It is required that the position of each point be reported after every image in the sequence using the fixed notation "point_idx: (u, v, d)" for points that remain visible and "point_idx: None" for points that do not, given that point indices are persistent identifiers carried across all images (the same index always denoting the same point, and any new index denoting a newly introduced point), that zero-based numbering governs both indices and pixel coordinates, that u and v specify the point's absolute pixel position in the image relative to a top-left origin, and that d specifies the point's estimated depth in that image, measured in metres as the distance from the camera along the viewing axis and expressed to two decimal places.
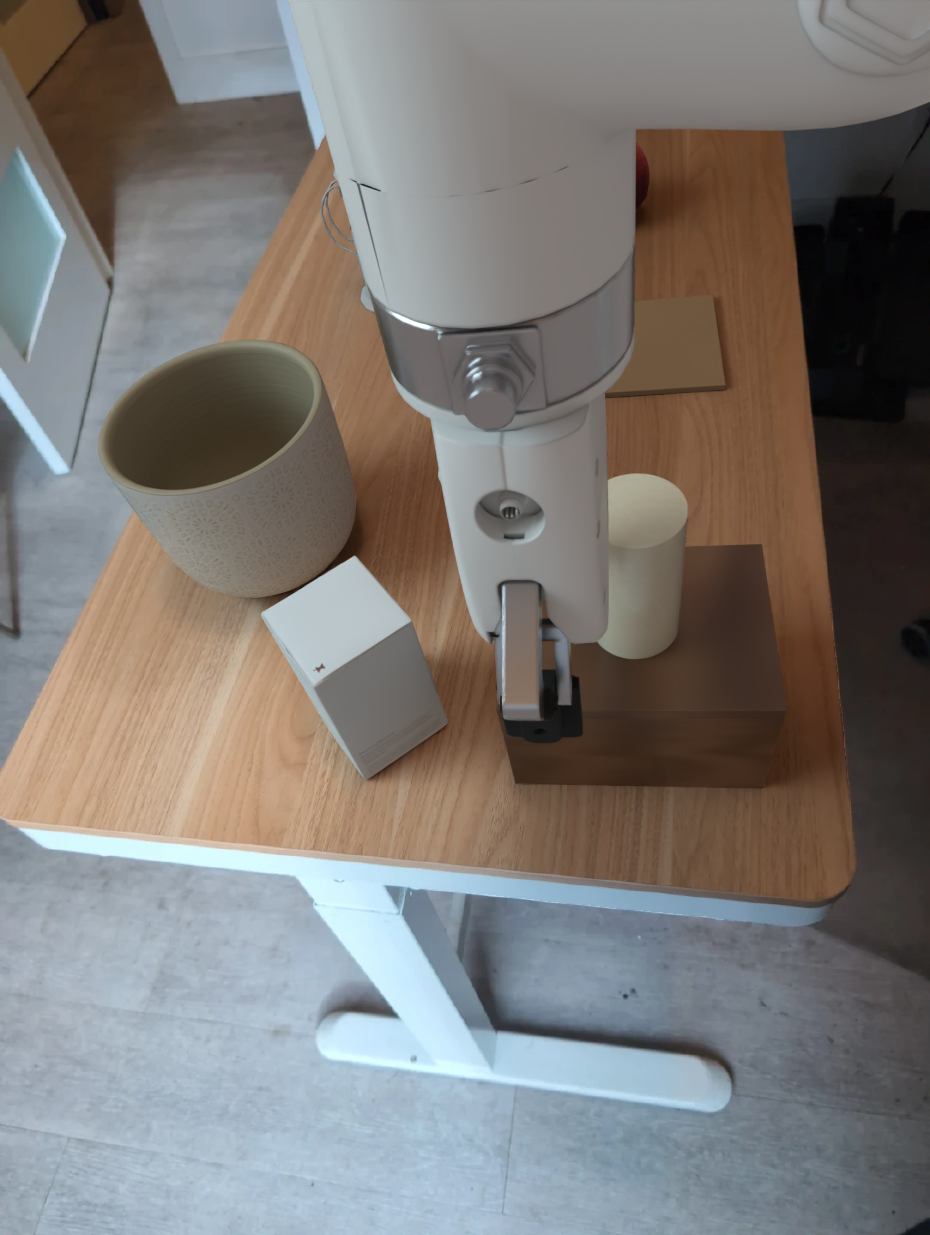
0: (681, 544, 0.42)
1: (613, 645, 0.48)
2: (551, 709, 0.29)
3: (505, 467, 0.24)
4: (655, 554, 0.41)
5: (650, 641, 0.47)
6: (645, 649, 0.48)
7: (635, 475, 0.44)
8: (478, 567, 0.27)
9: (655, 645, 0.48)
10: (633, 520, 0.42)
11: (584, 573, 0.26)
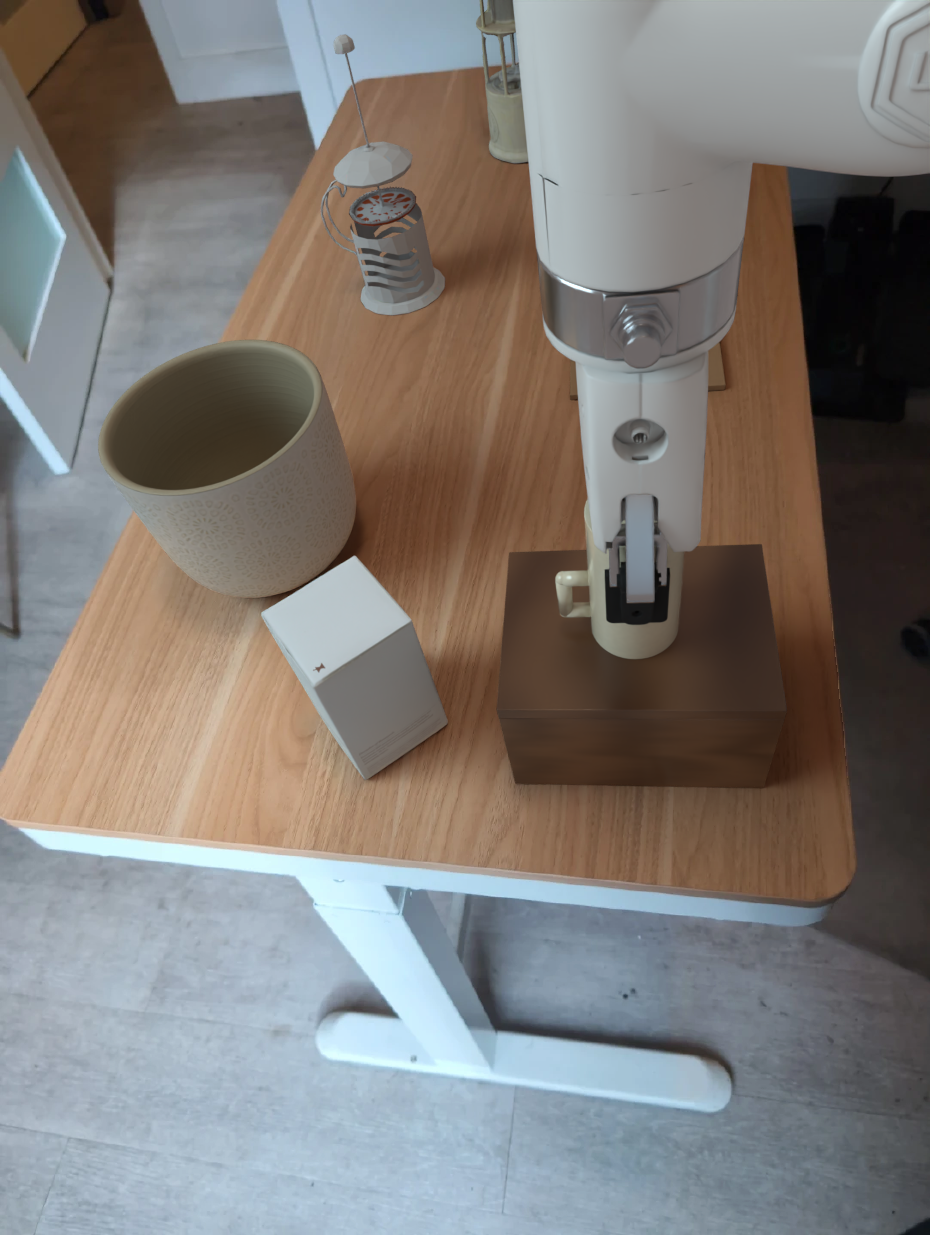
0: None
1: (613, 645, 0.48)
2: (657, 582, 0.38)
3: (642, 400, 0.31)
4: None
5: (650, 641, 0.47)
6: (645, 649, 0.48)
7: None
8: (608, 484, 0.34)
9: (655, 645, 0.48)
10: None
11: (691, 488, 0.34)
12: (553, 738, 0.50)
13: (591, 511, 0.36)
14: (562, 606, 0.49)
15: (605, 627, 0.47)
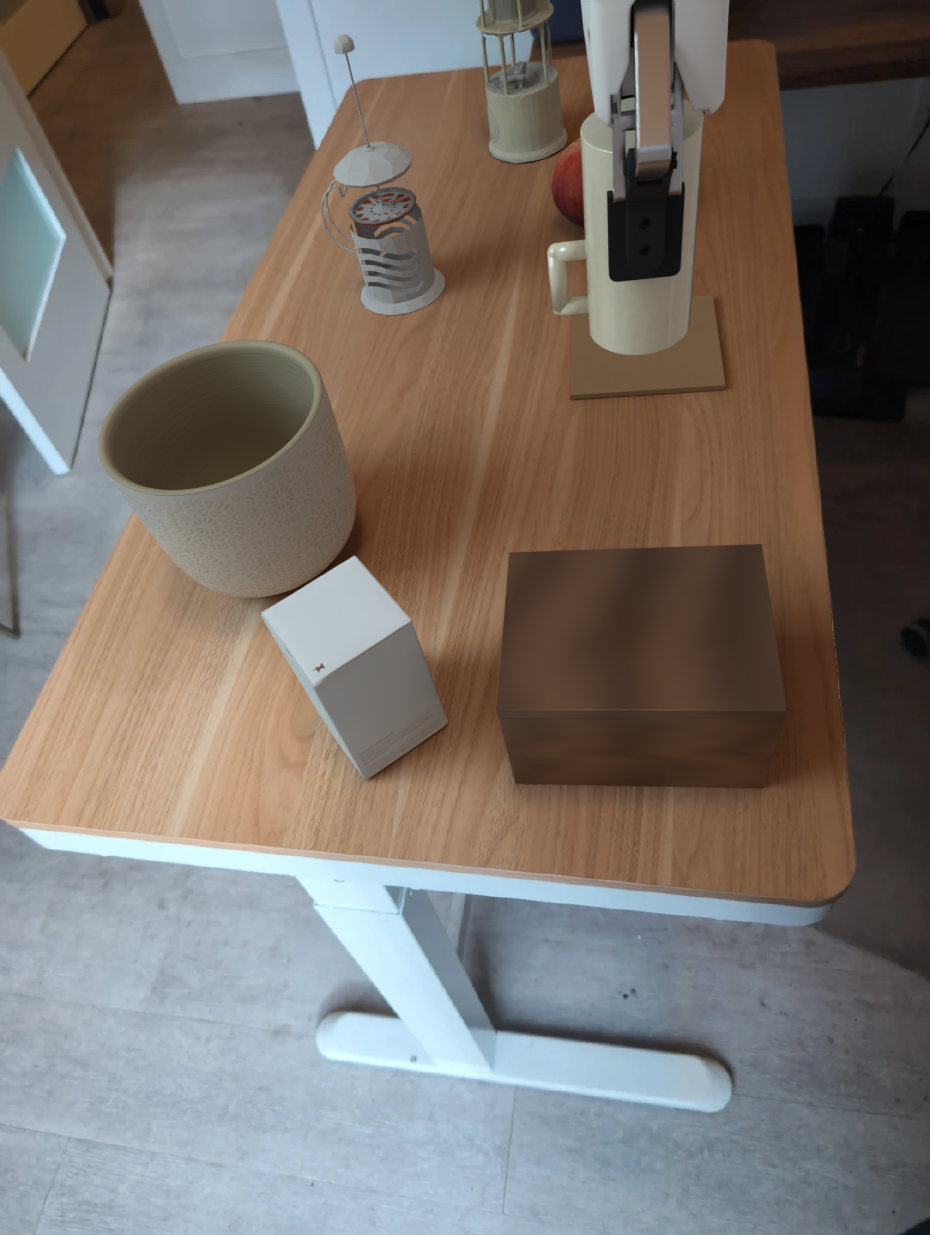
0: (696, 163, 0.36)
1: (615, 337, 0.42)
2: (672, 157, 0.31)
3: None
4: None
5: (658, 323, 0.41)
6: (653, 337, 0.41)
7: None
8: None
9: (664, 331, 0.41)
10: None
11: None
12: (553, 738, 0.50)
13: (592, 44, 0.30)
14: (556, 296, 0.42)
15: (606, 309, 0.41)
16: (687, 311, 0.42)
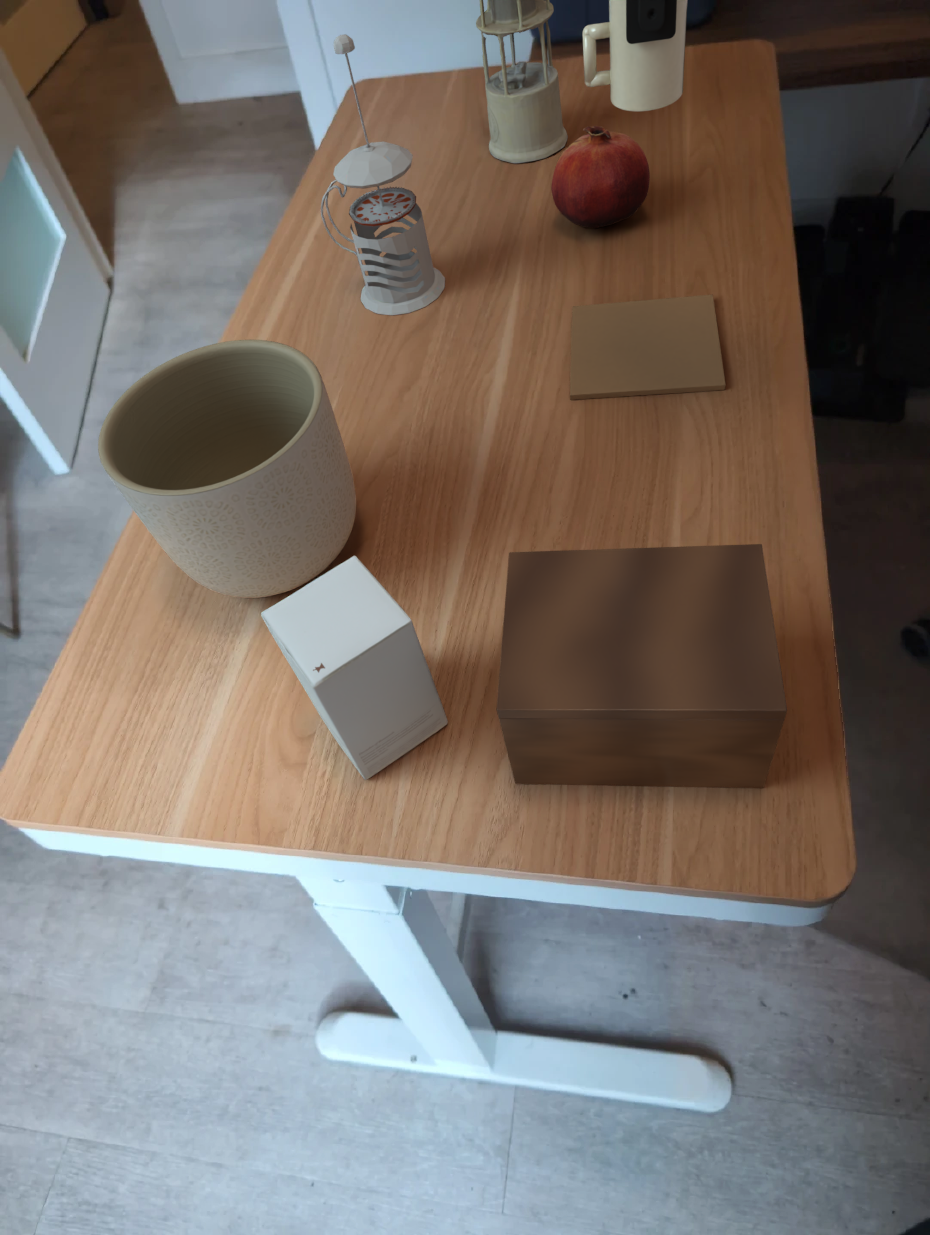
0: None
1: (629, 96, 0.59)
2: None
3: None
4: None
5: (660, 83, 0.58)
6: (656, 95, 0.59)
7: None
8: None
9: (663, 91, 0.59)
10: None
11: None
12: (553, 738, 0.50)
13: None
14: (587, 69, 0.60)
15: (623, 73, 0.58)
16: (680, 77, 0.59)
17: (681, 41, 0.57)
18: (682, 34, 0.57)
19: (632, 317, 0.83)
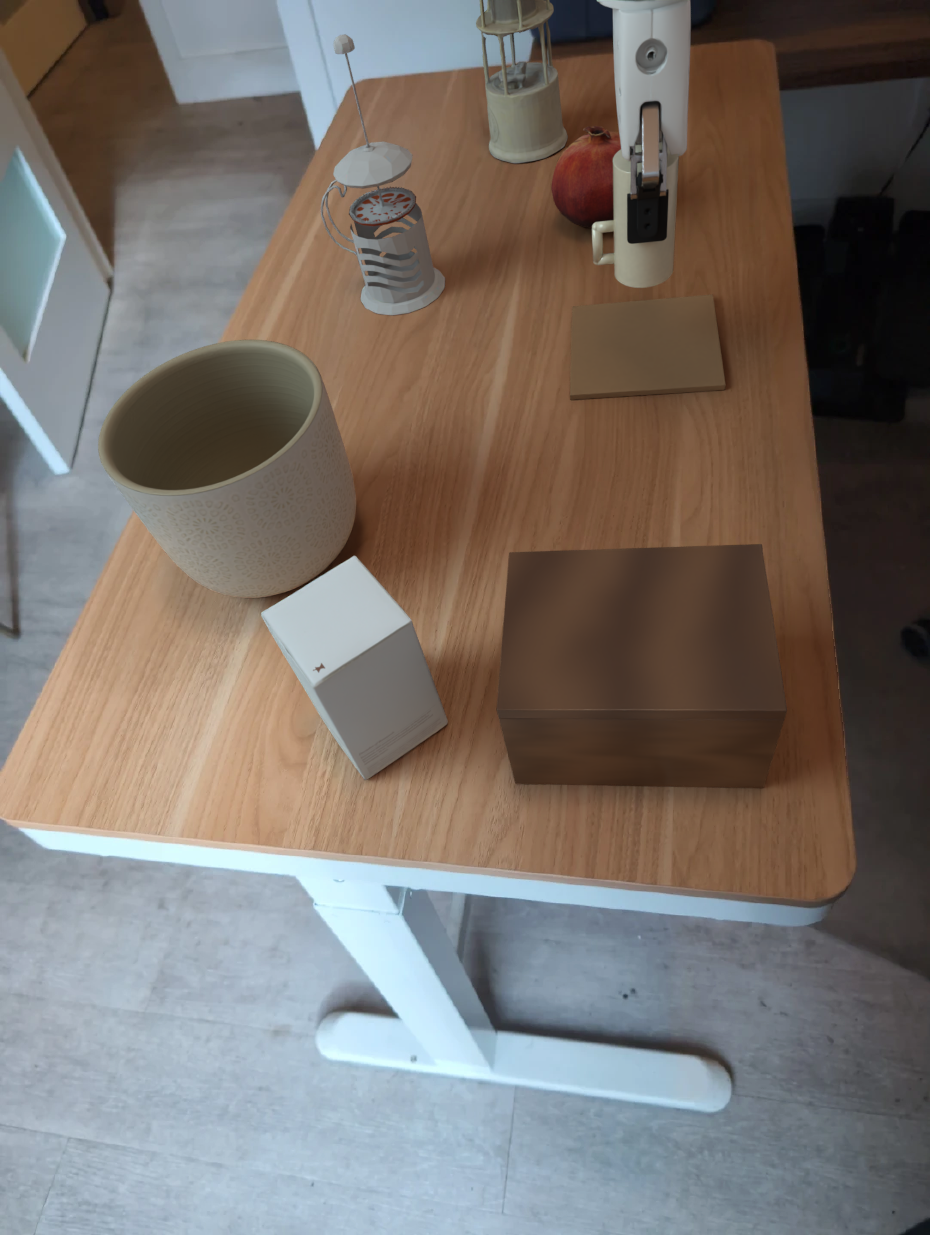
0: (674, 178, 0.67)
1: (629, 276, 0.73)
2: (660, 177, 0.62)
3: (653, 25, 0.55)
4: None
5: (654, 268, 0.72)
6: (651, 277, 0.72)
7: None
8: (632, 94, 0.59)
9: (657, 273, 0.72)
10: None
11: (681, 95, 0.58)
12: (553, 738, 0.50)
13: (621, 122, 0.60)
14: (595, 253, 0.73)
15: (624, 260, 0.72)
16: (671, 262, 0.72)
17: (671, 237, 0.71)
18: (672, 233, 0.70)
19: (632, 317, 0.83)
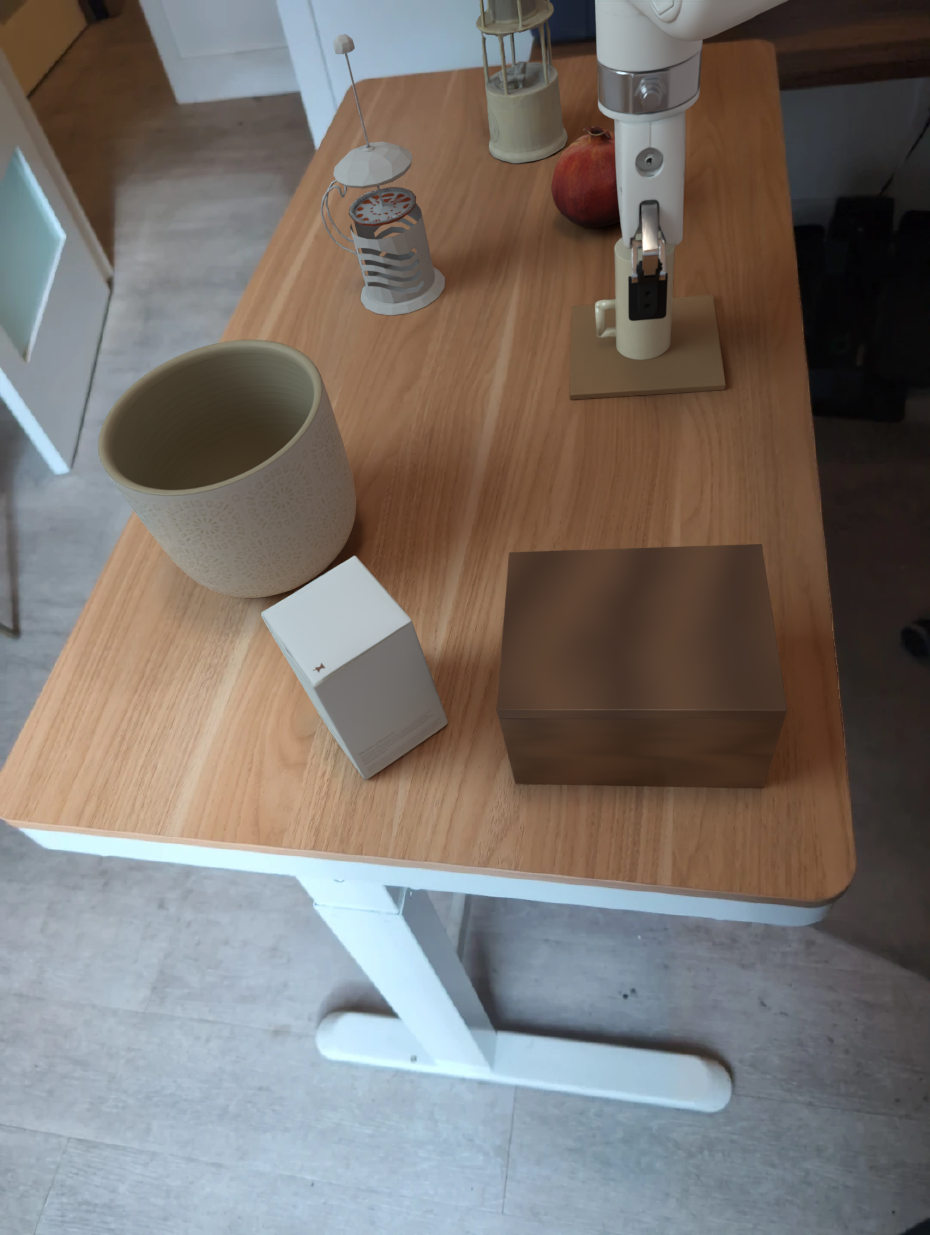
0: (671, 266, 0.72)
1: (630, 350, 0.79)
2: (660, 266, 0.66)
3: (651, 136, 0.61)
4: None
5: (653, 343, 0.78)
6: (650, 350, 0.78)
7: None
8: (632, 194, 0.64)
9: (656, 347, 0.78)
10: None
11: (677, 195, 0.64)
12: (553, 738, 0.50)
13: (622, 217, 0.66)
14: (598, 327, 0.79)
15: (625, 335, 0.78)
16: (668, 337, 0.78)
17: (668, 316, 0.76)
18: (669, 311, 0.76)
19: None
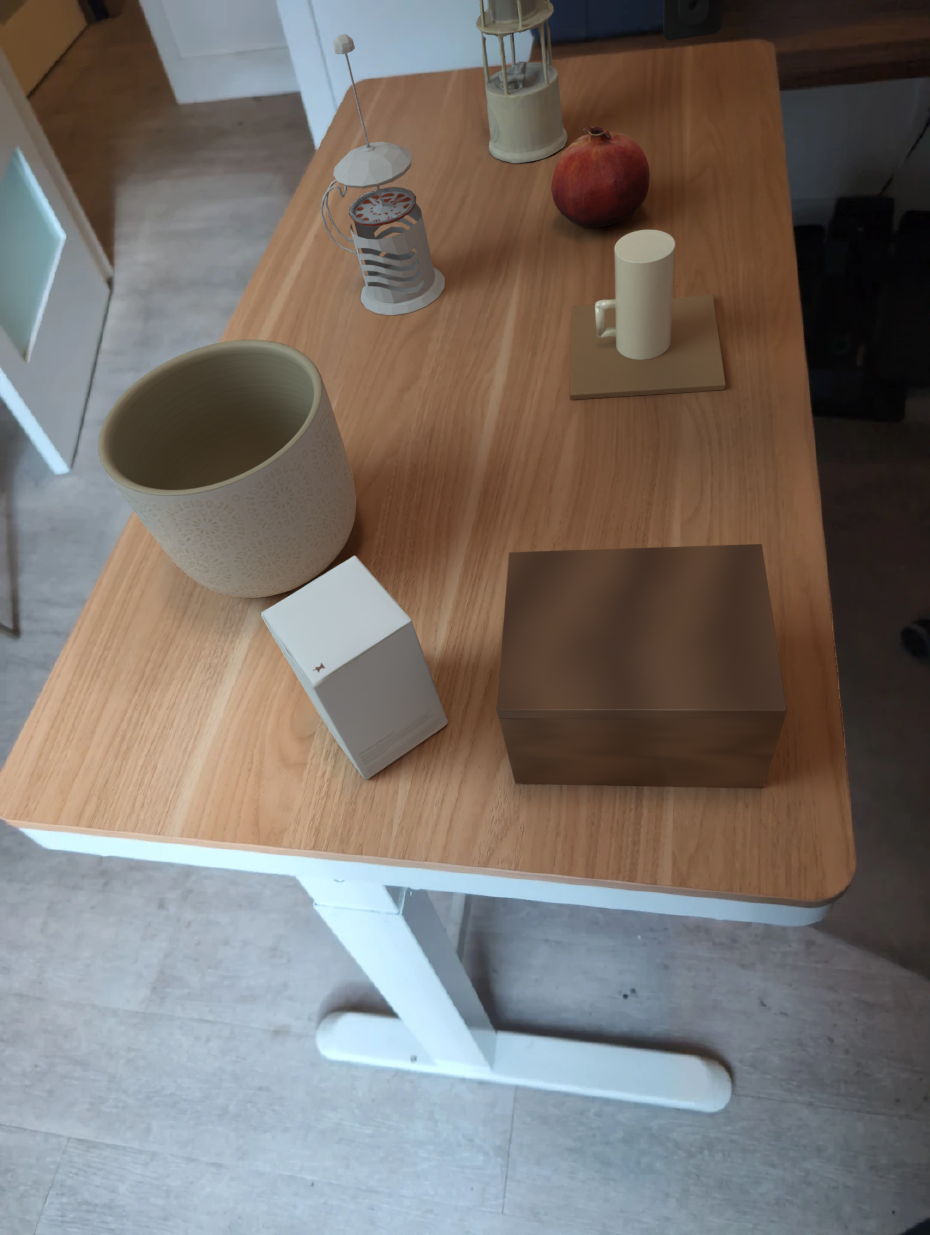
0: (671, 266, 0.72)
1: (630, 350, 0.79)
2: None
3: None
4: (656, 267, 0.71)
5: (653, 343, 0.78)
6: (650, 350, 0.78)
7: (644, 230, 0.74)
8: None
9: (656, 347, 0.78)
10: (643, 250, 0.72)
11: None
12: (553, 738, 0.50)
13: None
14: (598, 327, 0.79)
15: (625, 335, 0.78)
16: (668, 337, 0.78)
17: (668, 316, 0.76)
18: (669, 311, 0.76)
19: None
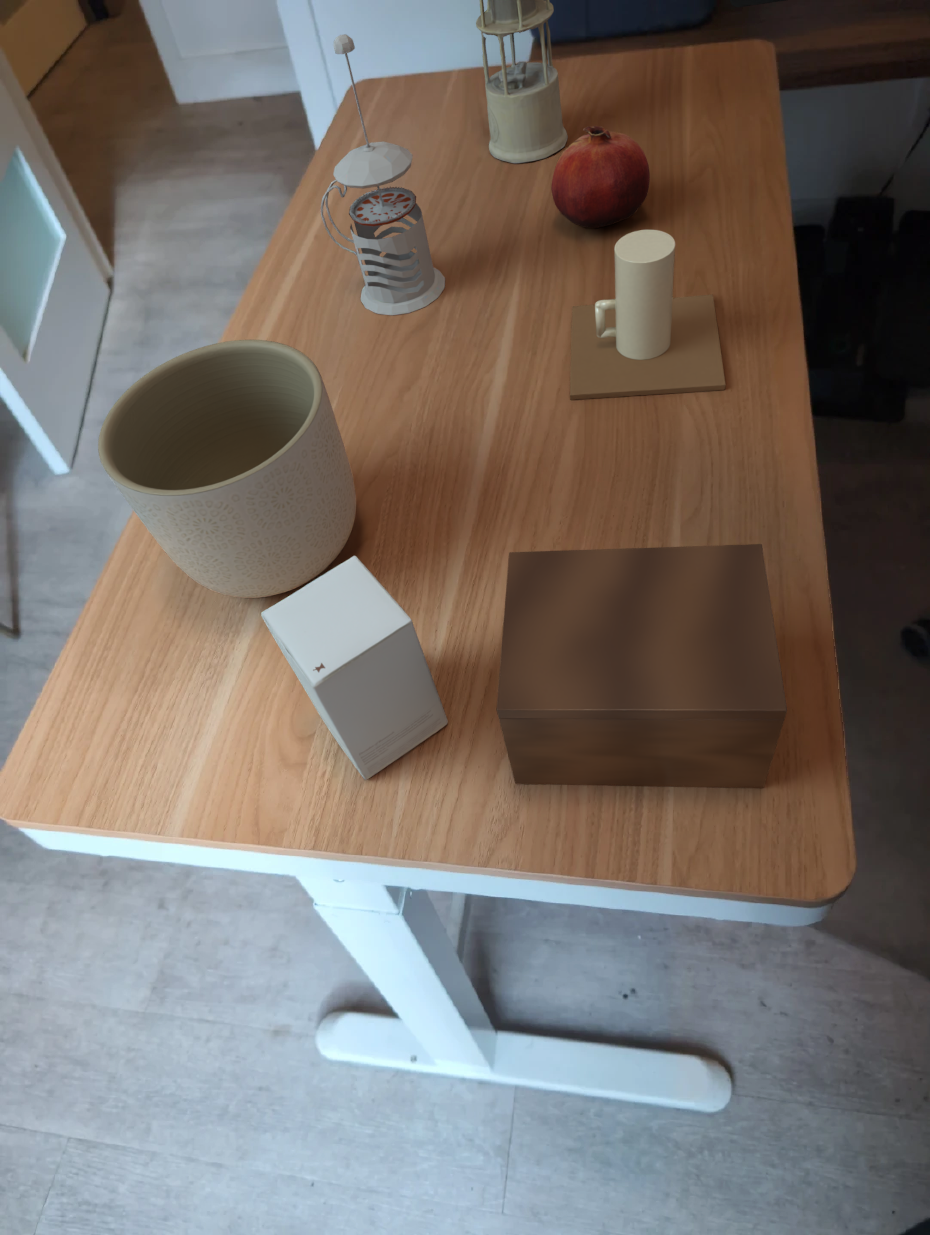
0: (671, 266, 0.72)
1: (630, 350, 0.79)
2: None
3: None
4: (656, 267, 0.71)
5: (653, 343, 0.78)
6: (650, 350, 0.78)
7: (644, 230, 0.74)
8: None
9: (656, 347, 0.78)
10: (643, 250, 0.72)
11: None
12: (553, 738, 0.50)
13: None
14: (598, 327, 0.79)
15: (625, 335, 0.78)
16: (668, 337, 0.78)
17: (668, 316, 0.76)
18: (669, 311, 0.76)
19: None
